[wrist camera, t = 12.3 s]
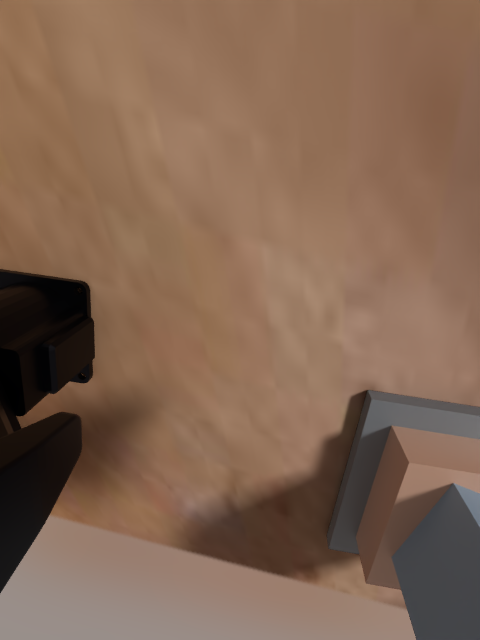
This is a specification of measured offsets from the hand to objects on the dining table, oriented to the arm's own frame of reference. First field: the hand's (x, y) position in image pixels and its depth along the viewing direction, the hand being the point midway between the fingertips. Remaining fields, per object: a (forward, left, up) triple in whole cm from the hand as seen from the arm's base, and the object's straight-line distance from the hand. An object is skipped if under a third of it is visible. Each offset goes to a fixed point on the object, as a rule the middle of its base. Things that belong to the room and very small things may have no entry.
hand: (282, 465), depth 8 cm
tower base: (+12, -11, -13) cm, 21 cm away
